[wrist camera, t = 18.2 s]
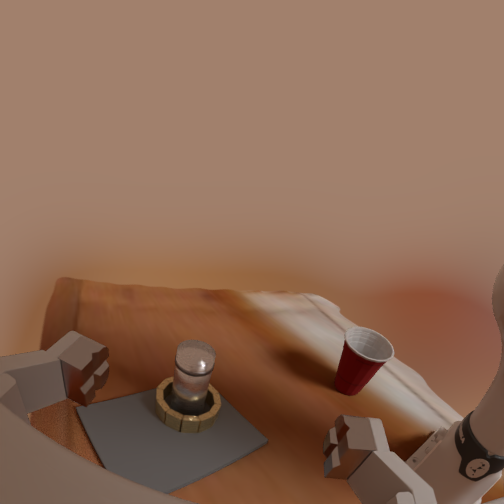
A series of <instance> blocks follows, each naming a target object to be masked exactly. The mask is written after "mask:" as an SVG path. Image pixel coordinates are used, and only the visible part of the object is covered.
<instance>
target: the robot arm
mask: <svg viewBox="0 0 504 504" xmlns="http://www.w3.org/2000/svg"><path fill="white" fill-rule="evenodd" d="M492 305H493V312H494V316H495V319H496V321H497V324H498V327H499V330H500V334H501V342H502V354H501V361H500V366H499V369H498V371H497V374H496V376H495V378H494V380H493V382H492V384H491V386H490V387H489V389H488V391H487V392H486V394H485V396H484V397H483V399H482V400H481V402H480V403H479V405H478V406H477V407H476V409H475V410H474V411H472V412H471V413H469V414H468V415H467V416H466V417H465V418H464V419H463V420H462V421H456V422H454V423H453V425H452V426H451V427H450V428H449V429H448V430H446V429H445V428H444V427H440V429H438V430H436V431H435V432H434V433H433V434H432V435H431V436H430V437H429V438H428V439H427V441H426V442H425V443H424V444H423V445H422V446H421V447H420V448H419V449H418V450H417V451H416V452H415V453H414V454H413V455H412V456H411V457H410V458H409V459H408V460H406V461H405V462H404V461H403V460H402V459H400V458H399V457H398V456H397V455H396V454H395V453H394V452H390V450H389V446H388V442H387V439H386V435H385V432H384V428H383V425H382V421H381V420H380V419H377V418H365V417H356V416H348V415H340V416H338V417H337V419H336V420H335V427H334V428H332V429H330V430H329V431H328V433H327V435H326V437H325V440H324V444H323V454H324V455H325V456H326V457H327V460H326V461H325V462H324V475H325V478H333V479H343V480H347V482H348V484H349V485H350V487H351V488H352V490H353V491H354V492H355V494H356V495H357V497H358V498H359V500H360V501H361V503H362V504H480V503H481V498H482V496H483V495H484V494H485V493H486V492H487V491H488V490H489V489H490V488H491V487H492V486H493V485H494V484H495V483H496V482H497V481H498V480H499V479H500V477H501V473H502V469H503V468H504V265H503V266H502V268H501V269H500V271H499V273H498V275H497V277H496V280H495V283H494V287H493V294H492ZM108 357H109V349H108V348H107V347H106V346H104V345H102V344H100V343H98V342H96V341H94V340H91V339H89V338H87V337H85V336H83V335H81V334H79V333H77V332H75V331H70V332H68V333H67V334H66V335H65V336H63V337H62V338H61V339H60V340H59V341H57V342H56V343H55V344H54V345H53V346H52V347H50V348H49V349H48V350H47V351H44V350H39V351H33V352H27V353H21V354H15V355H10V356H3V357H0V504H198V503H194V502H191V501H187V500H184V499H181V498H178V497H174V496H171V495H168V494H165V493H163V492H160V491H157V490H154V489H151V488H149V487H146V486H144V485H141V484H139V483H136V482H134V481H131V480H129V479H127V478H124V477H122V476H120V475H117V474H115V473H113V472H111V471H109V470H107V469H105V468H103V467H100V466H98V465H96V464H94V463H93V462H91V461H89V460H87V459H85V458H83V457H81V456H79V455H78V454H76V453H74V452H72V451H70V450H69V449H67V448H65V447H64V446H62V445H60V444H59V443H57V442H55V441H54V440H52V439H50V438H49V437H47V436H46V435H44V434H43V433H41V432H40V431H38V430H37V429H35V428H34V427H32V426H31V423H30V421H29V418H28V415H27V414H28V413H31V412H33V411H36V410H39V409H41V408H44V407H47V406H49V405H52V404H55V403H57V402H60V401H62V400H65V399H67V398H69V399H70V400H72V401H74V402H76V403H78V404H80V405H82V406H84V407H86V408H87V406H88V405H89V404H90V402H91V401H92V400H93V399H94V397H95V390H99V389H102V387H103V386H104V385H105V383H106V381H107V378H108V375H109V365H108V363H107V361H106V359H107V358H108ZM66 397H67V398H66ZM483 504H504V497H502V498H499V499H496V500H493V501H490V502H486V503H483Z"/></svg>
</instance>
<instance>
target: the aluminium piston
mask: <svg viewBox="0 0 504 504" xmlns="http://www.w3.org/2000/svg"><path fill="white" fill-rule="evenodd" d="M215 356H216V353H215V350H214V349H213V348H212V347H211V346H210V345H209V344H207V343H205V342H202V341H198V340H187V341H184V342H182V343H180V344H179V345H178V348H177V354H176V357H175V370H174V378H173V386H172V395H171V404H170V409H172V410H174V411H176V412H178V413H180V414H182V415H189V416H199V415H202V413H203V408H204V404H205V400H206V395H207V391H208V386H209V382H210V378H211V373H212V371H213V368H214V360H215Z"/></svg>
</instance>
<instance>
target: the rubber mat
mask: <svg viewBox="0 0 504 504" xmlns="http://www.w3.org/2000/svg"><path fill="white" fill-rule="evenodd" d="M156 390H157V388H155V389H152V390H148V391H144V392H140V393H136V394H133V395H129V396H125V397H120V398H116V399H112V400H108V401H103V402H99V403H94V404H90V405H88V406H87V408H86V407H84V406H80V407H76V410H77V413H78V415H79V418H80V420H81V422H82V424H83V426H84V429H85V431H86V433H87V435H88V437H89V439H90V441H91V443H92V445H93V447H94V449H95V451H96V453H97V455H98V457H99V458H100V460H101V462H102V464H103V466H104V468H105V469H107V470H109V471H111V472H113V473H115V474H117V475H120V476H122V477H124V478H127V479H129V480H131V481H134V482H136V483H139V484H141V485H144V486H146V487H149V488H151V489H154V490H157V491H160V492H163V493H165V494H168V493H171V492H173V491H175V490H178V489H180V488H182V487H185V486H187V485H189V484H191V483H193V482H196V481H198V480H200V479H202V478H204V477H206V476H208V475H210V474H212V473H214V472H216V471H218V470H220V469H222V468H224V467H226V466H228V465H230V464H232V463H233V462H235V461H237V460H239V459H241V458H242V457H244V456H246V455H248V454H250V453H251V452H253V451H255V450H256V449H258V448H260V447H262V446H263V445H265V444H267V442H268V439H267V438H266V437H265V436H264V435H263V434H261V433H260V432H259V431H258V430H257V429H256V428H255V427H254V426H253V425H252V424H251V423H249V422H248V421H247V420H246V419H245V418H244V417H243V416H242V415H241V414H240V413H239V412H238V411H237V410H236V409H235V408H234V407H233V406H232V405H231V404H230V403H229V402H228V401H227V400H226V399H225V398H224V397H223V396H222V395H221V394H220V393H218V394H219V395H220V400H221V408H220V411H219V415H218V418H217V420H216V421H215V423H214V424H213V426H212V427H211V428H209V429H207V430H205V431H202V432H200V433H198V432H197V433H181V430H180V432H178V431H176V430H174V429H172V428H170V427H168V426H166V425H165V424H163V422H162V421H161V420H160V418H159V417H158V415H157V414H156V412H155V406H156ZM171 395H172V394H171ZM171 395H168V396H167V397H166V399H165V400H164V401H165V402H166V403H167V405H168V406H169V407H170V404H171ZM209 411H210V406H209V405H208V404H207V403H206V402H205V404H204V408H203V413H202V414H204V413H207V412H209Z"/></svg>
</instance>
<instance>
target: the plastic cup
mask: <svg viewBox="0 0 504 504" xmlns="http://www.w3.org/2000/svg"><path fill="white" fill-rule="evenodd" d="M393 355H394V349H393V346H392V345H391V343H390V342H389V341H388V340H387V339H386V338H385V337H383V336H382V335H381V334H379V333H377V332H375V331H373V330H371V329H368V328H364V327H352V328H348V329H347V331H346V332H345V342H344V346H343V352H342V355H341V359H340V362H339V366H338V371H337V374H336V377H335V382H334V383H335V387H336V389H337V390H338V391H340V392H341V393H343V394H345V395H350V396H351V395H356V394H357V393H358V392H360V391H361V389H362V388H363V387H364V386H365V385H366V384H367V383H368V382H369V381H370V379H371V378H372V377H373V376H374V375H375V373H376V372H377V371H378V370H379V369H380V367H381V366H383V364H384V363H386V362H387V361H388V360H390V359H392V358H393Z"/></svg>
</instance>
